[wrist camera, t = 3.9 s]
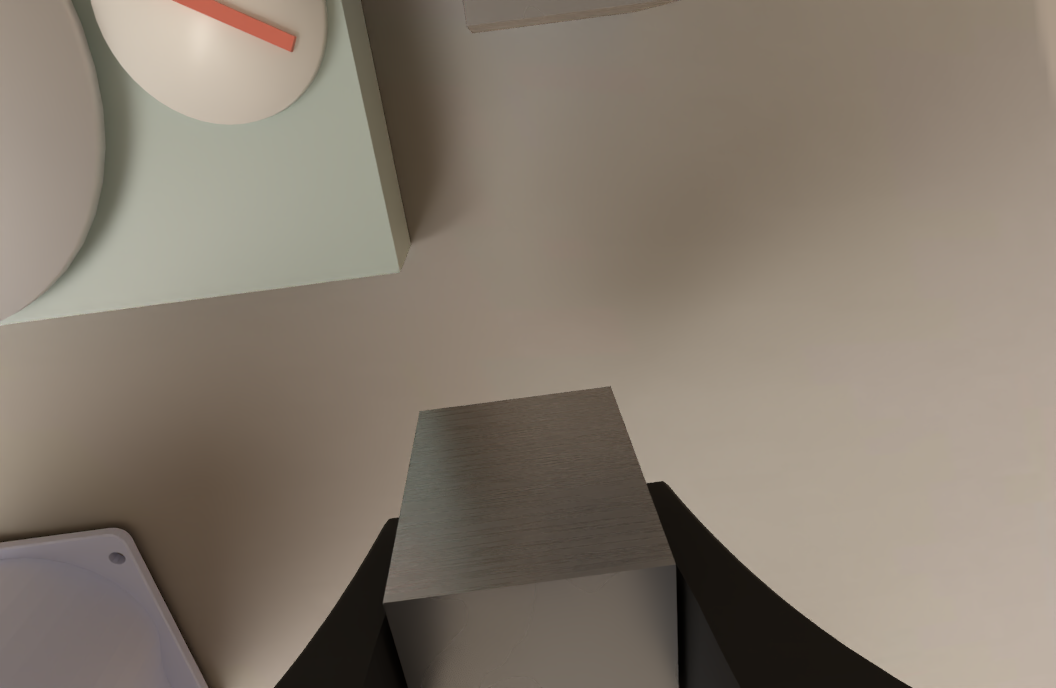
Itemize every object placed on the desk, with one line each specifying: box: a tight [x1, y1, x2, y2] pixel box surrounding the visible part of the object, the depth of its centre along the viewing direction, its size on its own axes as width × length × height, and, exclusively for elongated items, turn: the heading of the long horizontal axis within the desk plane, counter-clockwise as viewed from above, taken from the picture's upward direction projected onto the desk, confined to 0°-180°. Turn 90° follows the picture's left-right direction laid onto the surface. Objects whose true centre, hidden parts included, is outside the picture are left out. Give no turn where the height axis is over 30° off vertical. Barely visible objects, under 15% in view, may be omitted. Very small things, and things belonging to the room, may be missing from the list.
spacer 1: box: [383, 386, 679, 688], centre depth 12 cm, size 4×4×5 cm
